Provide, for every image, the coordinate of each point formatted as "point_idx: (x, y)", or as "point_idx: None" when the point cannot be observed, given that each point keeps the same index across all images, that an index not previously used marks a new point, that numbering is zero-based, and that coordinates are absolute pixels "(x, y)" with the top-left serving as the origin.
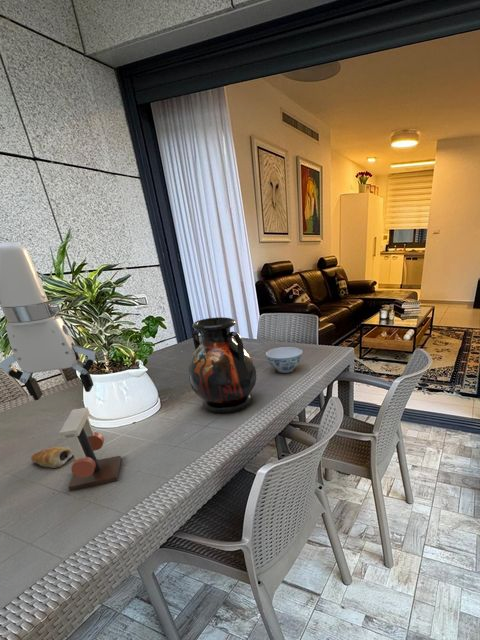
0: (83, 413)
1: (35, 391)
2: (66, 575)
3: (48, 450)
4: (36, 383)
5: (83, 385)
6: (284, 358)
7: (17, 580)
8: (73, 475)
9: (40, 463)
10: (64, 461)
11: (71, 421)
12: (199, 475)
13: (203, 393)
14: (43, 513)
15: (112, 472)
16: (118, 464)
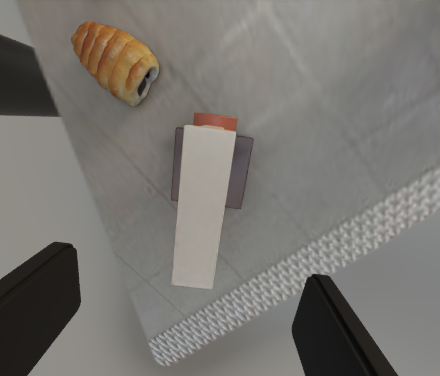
0: (225, 188)
1: (46, 344)
2: (190, 334)
3: (108, 60)
4: (4, 327)
5: (305, 372)
6: None
7: (148, 321)
8: (174, 167)
9: (101, 86)
10: (146, 90)
11: (194, 232)
12: (351, 253)
13: None
14: (146, 233)
15: (236, 193)
16: (247, 171)
